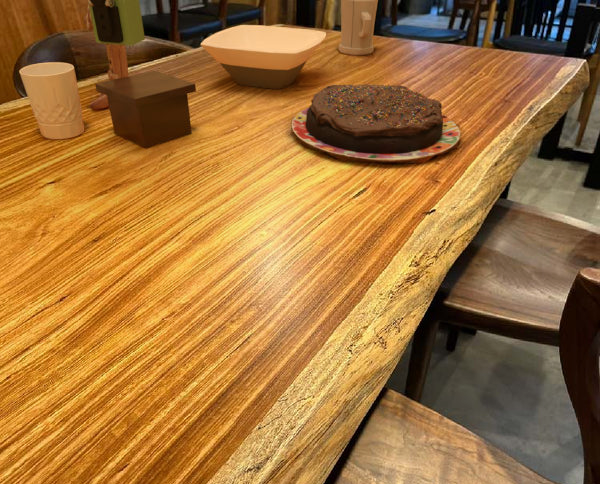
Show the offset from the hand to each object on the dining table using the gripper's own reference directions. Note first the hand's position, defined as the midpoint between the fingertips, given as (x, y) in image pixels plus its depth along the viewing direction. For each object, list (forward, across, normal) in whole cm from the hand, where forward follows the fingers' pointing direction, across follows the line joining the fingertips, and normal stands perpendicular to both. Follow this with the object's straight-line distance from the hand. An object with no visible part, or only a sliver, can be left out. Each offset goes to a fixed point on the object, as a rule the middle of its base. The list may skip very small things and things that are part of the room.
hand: (119, 36), depth 69 cm
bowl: (+17, -46, +5) cm, 50 cm away
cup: (+17, -77, +20) cm, 81 cm away
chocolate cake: (+17, -22, +32) cm, 42 cm away
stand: (+17, -11, -4) cm, 21 cm away
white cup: (+17, -8, -18) cm, 26 cm away
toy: (+1, 0, 0) cm, 1 cm away
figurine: (+17, -24, -18) cm, 35 cm away
